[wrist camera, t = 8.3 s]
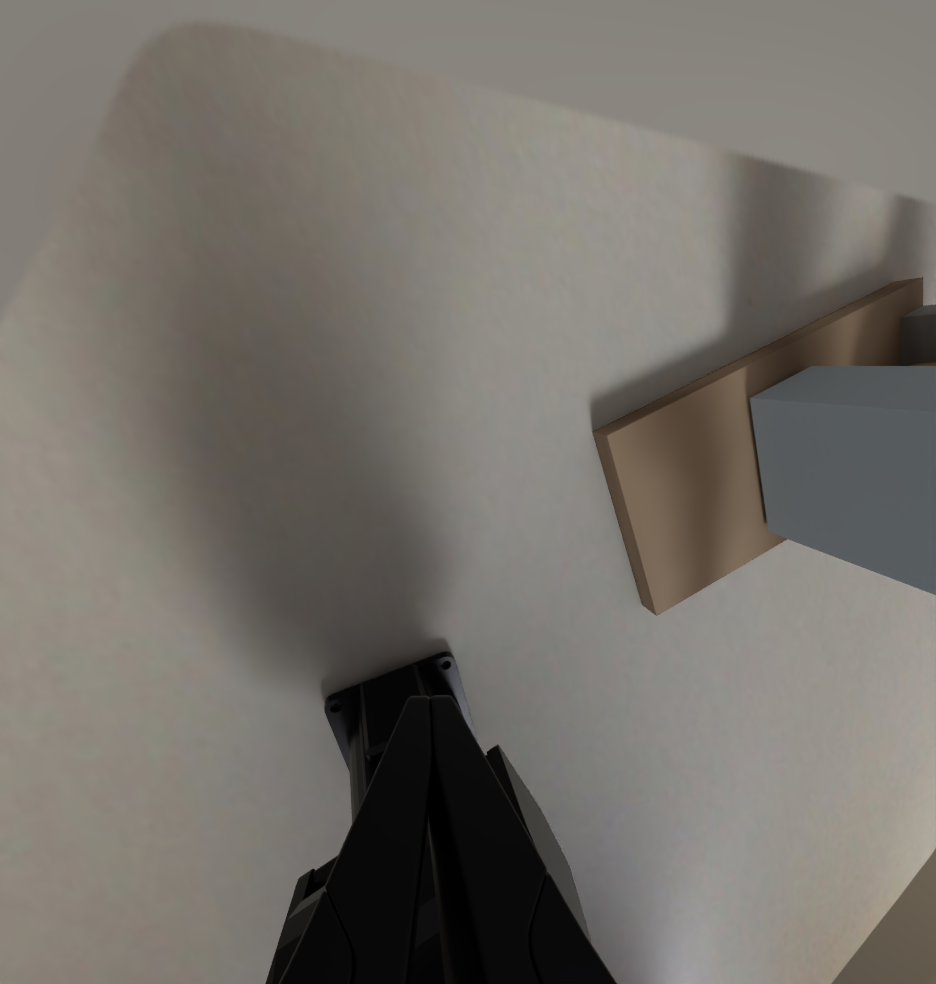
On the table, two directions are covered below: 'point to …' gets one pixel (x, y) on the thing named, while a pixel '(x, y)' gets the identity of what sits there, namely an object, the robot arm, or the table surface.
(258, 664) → the table surface
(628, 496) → the press bed
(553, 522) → the table surface
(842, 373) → the block
